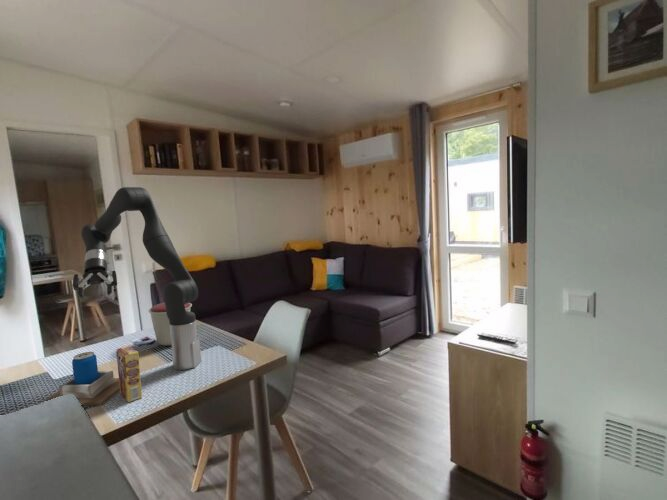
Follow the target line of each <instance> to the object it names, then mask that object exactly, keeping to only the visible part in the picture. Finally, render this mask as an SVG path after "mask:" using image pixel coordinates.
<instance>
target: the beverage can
mask: <svg viewBox="0 0 667 500" xmlns="http://www.w3.org/2000/svg"><path fill="white" fill-rule="evenodd" d="M72 358H73V359H72V361H71V364H72V373H73V378H74V382H75V385H87V384H92V383H93V382H95V381H96V380H98V379H99V376H98V371H99V369H98V368H99V367H98V360H97V355H96V354H95V352H94V351H86V352H80V353H77V354H76V355H74V356H73V357H72Z"/></svg>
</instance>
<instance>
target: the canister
mask: <svg viewBox="0 0 667 500" xmlns="http://www.w3.org/2000/svg"><path fill="white" fill-rule="evenodd" d="M184 305H185V310H186V311H189V312H191V308H192V306H193V304H192V303H191V302H189V303H186V304H184ZM148 313H149V314H150V317H151V322H152V327H153V330H154V334H155V339H156V341H157V343H158V345H161V346H171V335H170V323H169V319H168V317H167V314H166V307H165V301H164V302H161V303H158V304H155V305H153V306H152V307H151V308H150V307H149V309H148Z"/></svg>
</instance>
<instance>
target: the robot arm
mask: <svg viewBox="0 0 667 500" xmlns="http://www.w3.org/2000/svg"><path fill="white" fill-rule="evenodd" d="M127 211H128V212H138V211H139V212H140V213H141V214H142V218H143V220H144V227H143V232H142V245H144V248H145V250H146V252H147V254H148V255H149V257H150V258H151V260H152V261H154V262H155V263H156V264H158V265H159V266H160V267H162V268H163V269H165V270H166V271H167V272H168V273H169V274H170V275H171V277H172V279H173V281H172V282H168V283H167V284H166V285H165V286H164V290H163V298H164V299H163V300H164V302H165V307H166V314H167V317H168V319H169V323H170V335H171V345H170V346H171V354H172V355H171V356H172V365H173V367H172V368H173V369H174V370H176V371H182V370H185V371H186V370H188V369H194V368H196V367H197V366H198V365H199V364H200V363H201V362H202V354H201V340H200V338H199V337H198V333H197V332H198V331H197V330H198V329H197V318H196V313H195V312H193V311H190V312H189V311H186V310H185V305H184V304H186V303H191V302H194V301H196V300H197V299H198V297H199V289H198V286H197V283H196V281H195V280H194V278H193V277H192V276H191V274H190V272H189V271H188V269H187V267H186V266H185V265H184V263H183V261H182V259H181V258H180V255H179V254H178V252H177V250H176V248H175V247H174V244H173V242H172V240H171V238H170V236H169V235H168V232H167V231H166V229H165V226H164V225H163V223H162V220H161V219H160V217H159V214H158V212H157V209H156V206H155V204H154V201H153V198H152V197H151V194H150V193H149V192H148V190H147V189H146V188H144V187H139V186H138V187H137V186H136V187H134V186H130V187H129V186H126V187H125V186H123V187H121V188H119V189H117V190H116V192H115V194H114V195H113V197H112V199H111V201H110V202H109V204H108V206H107V208H106V210H105V211H104V213H103V214H102V215H101V216H100V217H99V218H97V220H96V221H95V223H94V224H92V223H87V224H85V225H84V226H83V227H82V229H81V239H82V241H83V243H84V247H85V256H84V270H83V271H84V273H83V274H82V275H81V274H80V275H78V273H75V274H73V279H72V280H73V281H72V289H73V290H74V291H77V292H78V294H77V295H78V298H80V299H84V295H85V294H84V293H85V292H84V290H85V289H86V288H88V287H89V286H91V285H101V284H103V285H105V286H106V292H107V295H108V296H110V295H112V293H113V287H114V286H116V287H117V286H118V277H117V272H116V270H112V271H111V272H108V257H107V244H106V243H108V242H109V241H110V239H111V235H112V233H113V231H115V230H116V229H117V227H118V226H120V224H121V222H122V215H121V214H122V213H124V212H127ZM109 277H110V278H112V281H111V280H109V279H108V278H109ZM80 281H82V282H80ZM79 282H80V284H79Z"/></svg>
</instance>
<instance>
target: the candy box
mask: <svg viewBox="0 0 667 500" xmlns="http://www.w3.org/2000/svg"><path fill="white" fill-rule="evenodd" d="M139 355H140V354H139V351H138V350H136V349H135V348H133V347H132V346H130V345H126V346H122V347H120V348H117V349H116V360H117V361H116V362H117V370H118V372H117V373H118V378H119V385H120V391H119V393H120V395H121V396H122V397H123V398H124V399H125V400H126V402H128V403H131V402H133V401H136V400H139V399H142V397H143V396H142V395H143V394H142V393H143V392H142V383H141V370H140V369H141V368H140V356H139Z"/></svg>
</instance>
